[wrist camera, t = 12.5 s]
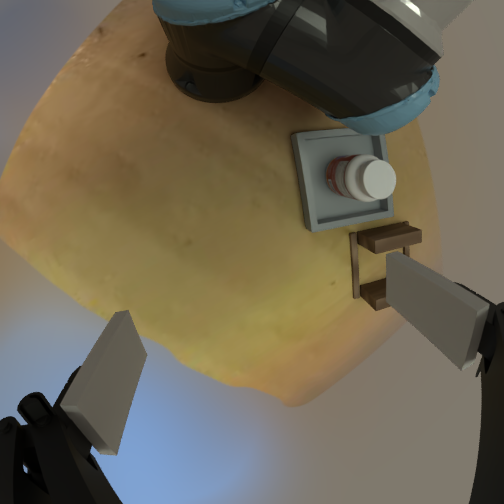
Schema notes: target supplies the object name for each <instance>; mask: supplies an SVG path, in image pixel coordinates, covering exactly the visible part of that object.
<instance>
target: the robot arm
mask: <svg viewBox="0 0 504 504" xmlns="http://www.w3.org/2000/svg"><path fill="white" fill-rule="evenodd" d="M473 1H474V0H153V1H152V4H153V10H154V12H155V14H156V15H157V16H158V18H159V20H160V23H161V25H162V27H163V29H164V31H165V34H166V36H167V38H168V40H169V43H168V46H167V50H166V56H165V60H166V67H167V71H168V73H169V75H170V77H171V79H172V81H173V82H174V84H175V85H176V86H177V87H178V88H179V89H180V90H181V91H182V92H183V93H185V94H186V95H188V96H190V97H192V98H194V99H197V100H200V101H204V102H210V103H223V102H229V101H234V100H237V99H240V98H242V97H244V96H246V95H248V94H250V93H251V92H253V91H254V90H255V89H256V88H257V87H258V86H259V85H260V84H261V83H262V82H263V80H264V79H266V80H268V81H270V82H272V83H274V84H276V85H278V86H280V87H281V88H283V89H285V90H287V91H289V92H291V93H292V94H294V95H296V96H298V97H299V98H301V99H303V100H304V101H306V102H308V103H309V104H311V105H313V106H314V107H316V108H318V109H319V110H321V111H322V112H324V113H325V115H326V116H327V117H329V118H330V119H332V120H335V121H339V122H341V123H342V124H344V125H346V126H347V127H349V128H350V129H352V130H354V131H355V132H357V133H360V134H362V135H372V136H378V135H383V134H387V133H390V132H393V131H395V130H397V129H399V128H401V127H403V126H405V125H406V124H408V123H409V122H411V121H412V120H414V119H415V118H416V117H417V116H418V115H419V114H421V113H422V112H423V111H424V110H425V108H426V107H427V106H428V105H429V104H430V102H431V101H430V97H432V96H434V95H435V94H436V92H437V90H438V87H439V74H438V72H437V69H436V66H435V65H434V64H435V63H436V62H437V61H438V60H439V59H440V58H441V57H442V56H443V55H444V52H443V43H442V31H443V30H444V29H445V28H446V27H447V26H448V25H449V24H450V23H451V22H452V21H453V20H454V19H455V18H456V17H457V16H458V15H459V14H460V13H461V12H462V11H464V10H465V9H466V8H467V7H468V6H469V5H470V4H471V3H472V2H473ZM386 302H387V303H388V304H389V305H390V306H392V307H393V308H394V309H395V310H396V311H397V312H398V313H400V314H401V315H402V316H403V317H404V318H405V319H406V320H407V321H408V322H410V323H411V324H412V325H413V326H414V327H415V328H416V329H417V330H419V331H420V332H421V333H422V334H423V335H424V336H425V337H426V338H427V339H428V340H429V341H430V342H431V343H433V344H434V345H435V346H436V347H437V348H438V349H439V350H440V351H441V352H442V353H443V354H444V355H445V356H446V357H447V358H448V359H450V360H451V362H453V363H454V364H455V365H456V366H457V367H458V368H459V369H460V370H461V371H463V370H464V369H466V368H467V367H469V366H471V365H472V364H473V363H474V361H475V358H476V355H477V352H479V353H480V354H482V358H481V362H480V364H479V367H478V370H477V373H476V377H478V375H479V372H480V371H481V383H482V384H481V388H482V410H481V430H480V442H479V451H478V459H477V467H476V472H475V478H474V483H473V488H472V493H471V498H470V501H469V504H504V302H502V303H499V304H498V305H495V304H494V303H492V302H490V301H489V300H487V299H485V298H484V297H482V296H481V295H479V294H476V292H474V291H472V290H470V289H469V288H467V287H466V286H464V285H462V284H459V283H456V282H452V281H451V280H449V279H447V278H445V277H444V276H442V275H440V274H438V273H437V272H435V271H433V270H431V269H430V268H428V267H426V266H424V265H422V264H421V263H419V262H417V261H415V260H413V259H411V258H409V257H408V256H406V255H404V254H402V253H400V252H398V251H397V252H393V253H389V254H386ZM146 357H147V353H146V351H145V349H144V347H143V344H142V342H141V340H140V337H139V335H138V333H137V330H136V328H135V325H134V323H133V320H132V318H131V315H130V313H129V310H126V311H120V312H115V314H114V315H113V317H112V318H111V320H110V321H109V323H108V324H107V326H106V327H105V329H104V331H103V332H102V334H101V335H100V337H99V338H98V340H97V342H96V343H95V345H94V347H93V348H92V350H91V352H90V353H89V355H88V356H87V358H86V360H85V361H84V363H83V365H82V366H79V367H78V368H77V369H76V370H75V371H74V372H73V373H72V374H71V376H70V378H69V380H68V383H66V384H65V386H64V389H63V390H62V391H61V393H60V395H59V397H58V399H57V400H56V402H55V404H54V406H53V407H52V406H51V405H50V403H49V402H48V401H47V399H46V398H45V396H44V395H43V394H42V393H40V392H33V393H30V394H28V395H27V396H25V397H24V398H23V399H22V400H21V401H20V403H19V405H18V408H17V411H18V412H19V414H20V415H21V416H22V417H23V419H24V420H25V421H26V422H27V423H28V425H20V423H19V422H18V421H17V420H16V418H14V417H12V416H9V417H6V418H3V419H2V420H0V504H123V503H122V502H121V500H120V499H119V497H118V496H117V494H116V493H115V491H114V490H113V488H112V487H111V485H110V483H109V482H108V480H107V479H106V477H105V475H104V473H103V472H102V470H101V468H100V467H99V465H98V463H97V461H96V459H95V457H94V456H93V455H92V454H91V453H90V450H91V447H92V446H93V447H94V448H95V449H96V450H97V451H98V452H99V453H100V454H104V455H117V453H118V449H119V446H120V442H121V438H122V434H123V431H124V427H125V424H126V421H127V417H128V414H129V410H130V407H131V404H132V400H133V397H134V394H135V391H136V388H137V385H138V381H139V378H140V375H141V372H142V369H143V366H144V363H145V360H146ZM23 465H24V466H26V467H27V468H28V472H27V473H25V472H24V469H23Z"/></svg>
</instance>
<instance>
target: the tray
mask: <svg viewBox="0 0 504 504" xmlns="http://www.w3.org/2000/svg"><path fill="white" fill-rule="evenodd" d="M291 140H292V146H293V151H294V157H295V162H296V168H297V174H298V180H299V186H300V192H301V199H302V205H303V212H304V219H305V226H306V229H308V230H309V231H310V232H312V233H313V232H318V231H322V230H327V229H332V228H337V227H342V226H347V225H352V224H357V223H362V222H367V221H372V220H377V219H383V218H388V217H393V216H394V210H393V197H392V194H391V195H390V196H388V197H387V198H385V199H377V200H375V201H372V202H362V201H358V200H355V199H351V198H347V197H343V196H339V195H337V194H335V193H334V192H333V191H332V190H331V189H330V188H329V186H328V185H327V182H326V169H327V166H328V164H329V163H330V162H331V161H332V160H333V159H334V158H336V157H339V156H346V155H359V154H369V155H373V156H375V157H377V158H378V159H380V160H383V161H386V162H387V163H389V161H388V153H387V147H386V140H385V134H383V135H378V136H372V135H362V134H360V133H357V132H355V131H354V130H352V129H350V128H344V129H331V130H320V131H310V132H301V133H295V134H293V135H291Z"/></svg>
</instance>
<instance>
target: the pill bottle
mask: <svg viewBox="0 0 504 504" xmlns="http://www.w3.org/2000/svg"><path fill="white" fill-rule="evenodd" d="M326 182H327V185H328V186H329V188H330V189H331V190H332V191H333V192H334V193H335V194H337V195H339V196H343V197H347V198H351V199H355V200H358V201H362V202H372V201H375V200H377V199H385V198H387V197H388V196H390V195H391V194H392V192H393V191H394V188H395V185H396V176H395V172H394V170H393V168H392V167H391V165H390V164H389V163H387V162H386V161H383V160H380V159H378V158H377V157H375V156H373V155H369V154H359V155H346V156H339V157H336V158H334V159H333V160H332V161H331V162H330V163H329V164H328V166H327V169H326Z"/></svg>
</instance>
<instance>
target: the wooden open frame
mask: <svg viewBox="0 0 504 504" xmlns="http://www.w3.org/2000/svg"><path fill="white" fill-rule="evenodd" d="M349 236H350V248H351V263H352V281H353V298H354V299H357V298H360V296H361V297H362V298H363V299H364V300H365V301H366V302H367V303H368V304H369V305H370V306H371V307H372V308H373V309H374V310H375V311H378V310H381V309H384V308H387V307H390V305H389V304H388V303H387V302H386V278H385V279H381V280H378V281H374V282H371V283H367V284H364V285H360V292H359V265H358V248H357V239H358V244H359V245H361V246H363V247H365V248H366V249H368V250H370V251H371V252H373V253H375V254H378V253H382V252H386V251H390V250H394V249H398V248H401V247H403V254H404V255H406V256H408V257H409V245H413V244H417V243H421V242H422V231H421V230H420V229H418V228H415V227H412V226H409V222H408V221H405V222H403V223H396V224H391V225H386V226H382V227H377V228H372V229H367V230H363V231H358V232H357V235H356V233H355V232H353V233H349Z"/></svg>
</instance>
